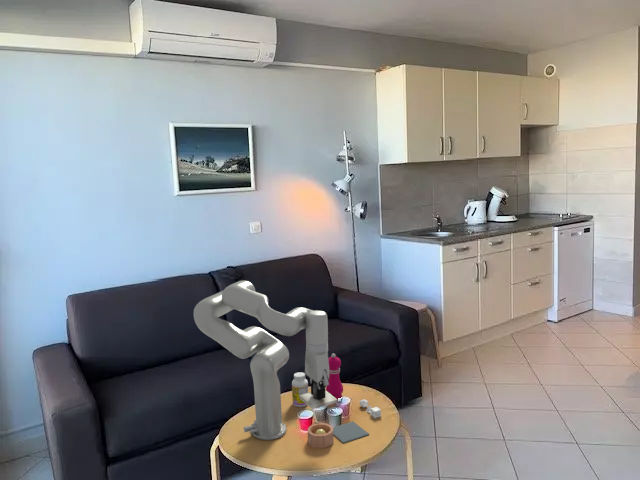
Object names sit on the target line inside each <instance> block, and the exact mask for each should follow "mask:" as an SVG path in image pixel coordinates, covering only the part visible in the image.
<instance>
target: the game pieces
mask: <svg viewBox="0 0 640 480" xmlns="http://www.w3.org/2000/svg"><path fill="white" fill-rule="evenodd" d="M359 405H360V407H362V408H366V410H365V411H366V413H369V414H370V416H371V417H372V418H373V419H377V418H381V417H382V409H381V408H380V407H378V406H374V407H372V406H371V404H370V405H369V400H367V399H364V398H363V399H361V400H359Z"/></svg>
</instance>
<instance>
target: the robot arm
mask: <svg viewBox="0 0 640 480" xmlns="http://www.w3.org/2000/svg"><path fill="white" fill-rule="evenodd" d="M233 310H236V311H238V312H241V313H243V314H246V315H249V316H251V317H254V318H256V319H257V320H258V322H260V323H261V325H262V326H263V327H265V328H266V329H267V330H269V331H271V332H273V333H276V334H279V335H282V336H286V337H291V336H294V335H296V334H298V333H299V332H300V331H301V330H304V329H305V340H306V341H305V342H306V349H305V357H304V373H305V376H307V377H309V383H310V392H311V395H313V383H315V382H317V387H318V388H317V400H320V399H323V398H325V390H326V386H327V385H329V382H328V381H329V361H328V358H329V354H328V351H329V342H328V341H329V336H328V335H329V331H328V330H329V328H328V327H329V326H328V325H329V323H328V321H329V319H328V314H327V312H325V311H323V310H313V309H310V308H306V307H295V308H292V309H291V310H289V311H288V312H287V313H282V312H280V311H277V310H275V309H273V308H271V307H270V305H269V298H268V296H267V295H265V294H263V293H260V292H257V291H256V288H255V286H254V284H253V283H251V282H250V281H249V280H246V279H245V280H238V281H237V282H234V283H231V284H230V285H228V286H227V287H225V288H224V290H221V291H218V292H217V293H215V294H213V295H210V296H208V297H205V298H203V299H202V300H200V301H199V302H198V303H197V304H196V305H195V306H194V309H193V320H194V323H195V325H196V326H197V328H198V329H199V330H200V332H202V334H204V335H206V336H207V337H209V338H211V340H213V341H215V342H217V343H218V344H219V345H221V347H223V348H225V349H226V350H228V352H230V353H231V354H232V355H233V356H236V358H239V359H242V360H244V359H249V357H251V356H253V355H254V356H253V357H252V358H251V361H250V365H249V367H250V372H251V375H252V376H251V377H252V380H253V390H254V391H253V393H254V407H255V408H254V409H255V419H254V420H253V423H251V425H246V426H243V432H244V433H249V434H252V435H253V437H254V438H256V439H258V440H262V441H271V440H272V441H273V440H276V439H280V438H282V437H283V436H284V435H285V434H286V433H287V425H286V424H285V423H284V422H283V418H282V417H283V415H282V397H281V384H280V380H279V377H278V370H280V369H281V368H282V367H283V366H284V365H286V364H287V362H288V361H289V359H290V352H289V349H288V347H287V346H286V345H285V344H284V343H283V342H282V341H280V340H279V339H278V338H276V337H275V336H273V335H272V334H270V333H269V332H268V331H266V330H265V329H263V328H261V327H258V326H255V325H253V326H249V327H246V328H244V329H241V328H239V327H237V326H235V325H234V324H233V323H231V322H230V321H228V320H225V319H222V318H221V316H224V315H226V314H227V313H230V312H231V311H233ZM320 382H322V383H321V384H320Z"/></svg>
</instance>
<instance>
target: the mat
mask: <svg viewBox="0 0 640 480" xmlns="http://www.w3.org/2000/svg"><path fill="white" fill-rule="evenodd" d="M332 427H333V437H334V436H335V438H336V439H337V440H339V441H340V442H341V443H342V444H346V443H348V442H352V441H354V440H358V439H360V438H363V437H364V438H365V437H366V436H369V435H370V433H369V432H367V430H365V429H363V428H362V427H361V426H360V425H358V424H357V423H356V422H355V421H353V420H352V421H350V422H345V423H343V424H339V425H336V426H332Z"/></svg>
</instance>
